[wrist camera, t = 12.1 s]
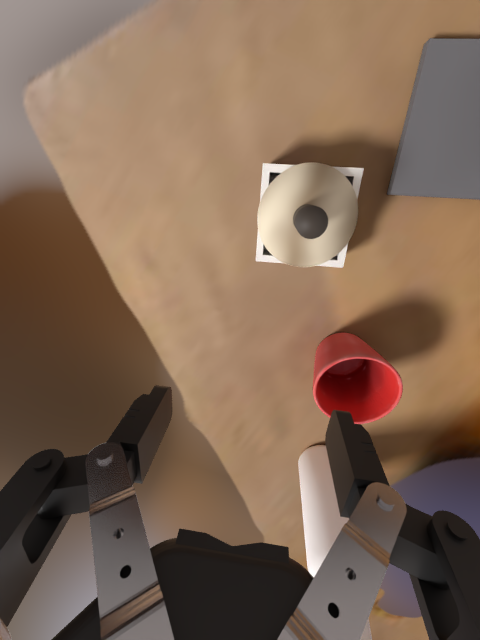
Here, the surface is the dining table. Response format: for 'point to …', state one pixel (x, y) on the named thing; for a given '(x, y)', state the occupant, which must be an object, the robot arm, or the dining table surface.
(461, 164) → the mat
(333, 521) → the alcohol
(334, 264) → the dish
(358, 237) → the dining table surface
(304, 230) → the lid
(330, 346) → the flower pot
